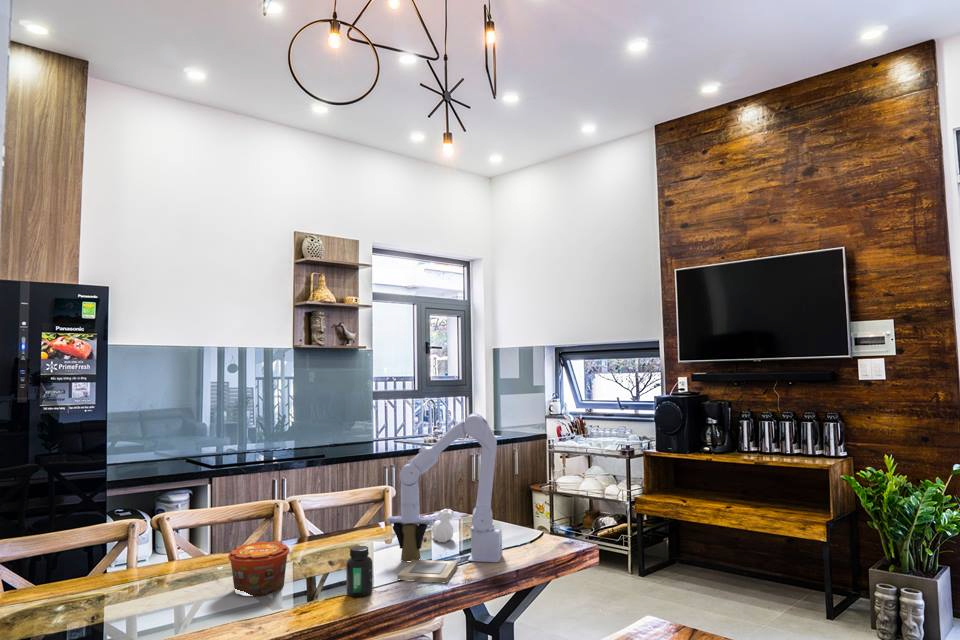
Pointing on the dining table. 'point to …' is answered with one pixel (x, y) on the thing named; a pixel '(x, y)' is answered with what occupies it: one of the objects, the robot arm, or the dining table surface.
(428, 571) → the base board
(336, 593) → the dining table surface
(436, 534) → the bust
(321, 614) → the dining table surface
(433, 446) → the robot arm
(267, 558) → the food container
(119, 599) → the dining table surface
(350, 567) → the supplement bottle
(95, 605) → the dining table surface
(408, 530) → the cork
